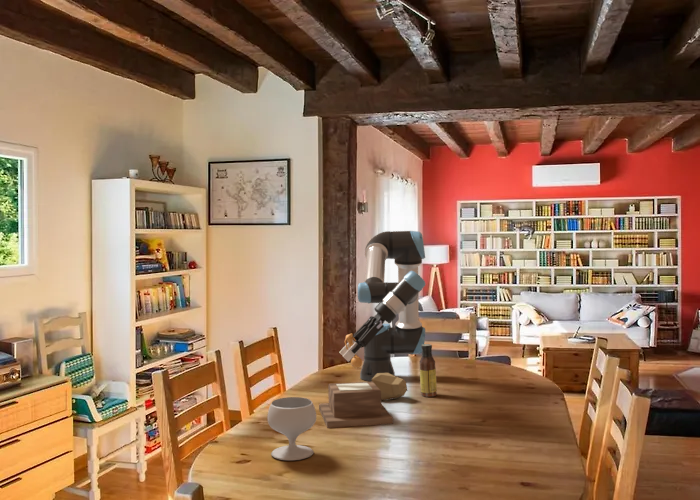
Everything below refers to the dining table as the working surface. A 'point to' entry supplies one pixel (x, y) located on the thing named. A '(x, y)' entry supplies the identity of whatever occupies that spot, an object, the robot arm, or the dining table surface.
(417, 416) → the dining table surface
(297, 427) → the chalice
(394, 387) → the low-poly potato
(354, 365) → the figurine
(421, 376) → the sauce bottle
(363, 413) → the pedestal
